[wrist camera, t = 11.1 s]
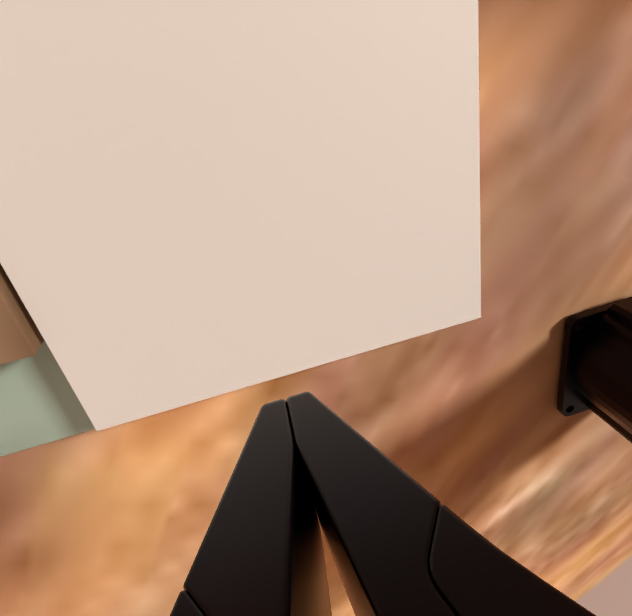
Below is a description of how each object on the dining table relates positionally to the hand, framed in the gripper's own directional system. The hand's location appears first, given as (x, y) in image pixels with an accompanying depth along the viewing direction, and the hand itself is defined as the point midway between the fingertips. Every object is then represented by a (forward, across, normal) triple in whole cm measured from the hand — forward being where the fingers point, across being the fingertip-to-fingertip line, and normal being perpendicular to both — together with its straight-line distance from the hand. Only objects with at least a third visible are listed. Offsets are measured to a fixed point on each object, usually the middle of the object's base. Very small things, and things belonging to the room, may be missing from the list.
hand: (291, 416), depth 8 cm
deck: (+10, 0, -2) cm, 11 cm away
